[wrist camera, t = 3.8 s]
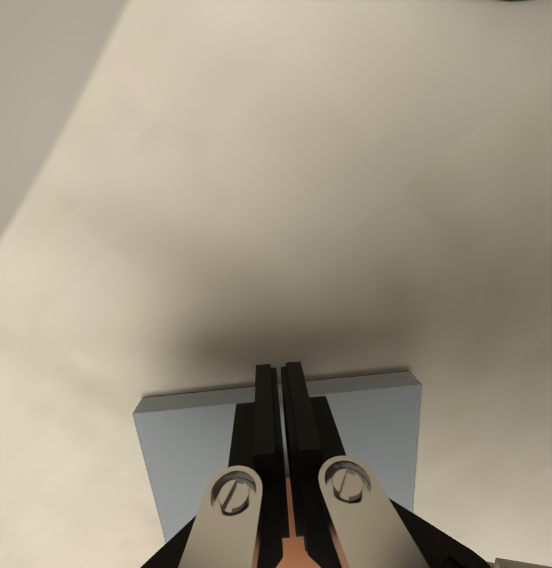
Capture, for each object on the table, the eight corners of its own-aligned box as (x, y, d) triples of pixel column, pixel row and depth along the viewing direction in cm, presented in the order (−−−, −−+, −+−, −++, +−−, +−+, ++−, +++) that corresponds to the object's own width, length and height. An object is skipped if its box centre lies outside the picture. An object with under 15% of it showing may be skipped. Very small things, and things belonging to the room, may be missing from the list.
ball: (333, 447, 12) (371, 573, 8) (335, 521, 14) (370, 664, 9) (233, 458, 12) (219, 591, 8) (244, 531, 13) (237, 681, 9)
